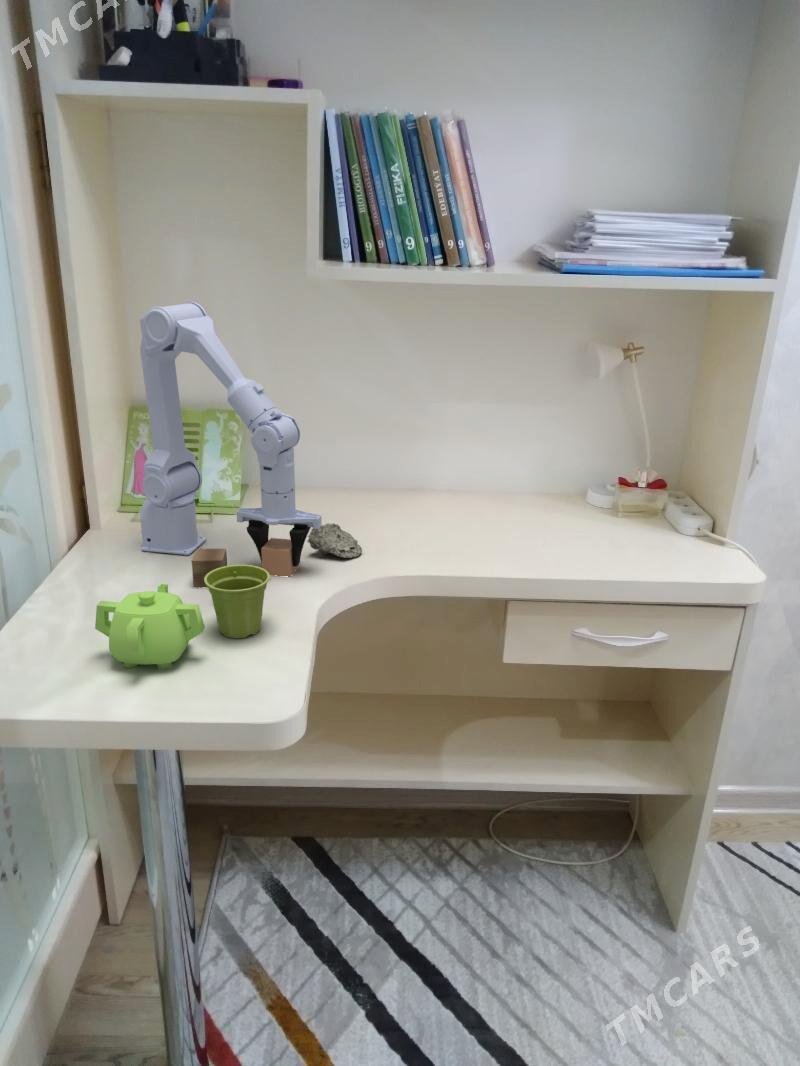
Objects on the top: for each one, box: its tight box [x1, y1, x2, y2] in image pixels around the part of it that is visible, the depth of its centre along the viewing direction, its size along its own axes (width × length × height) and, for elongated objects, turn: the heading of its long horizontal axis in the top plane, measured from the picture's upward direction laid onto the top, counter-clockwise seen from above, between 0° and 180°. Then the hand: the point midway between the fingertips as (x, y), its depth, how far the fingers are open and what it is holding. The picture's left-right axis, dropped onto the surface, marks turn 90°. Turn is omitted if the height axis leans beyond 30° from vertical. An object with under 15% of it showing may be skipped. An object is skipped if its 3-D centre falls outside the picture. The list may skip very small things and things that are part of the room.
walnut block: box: [191, 548, 228, 589], centre depth 138 cm, size 5×5×5 cm
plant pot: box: [204, 564, 271, 639], centre depth 122 cm, size 9×9×9 cm
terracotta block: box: [261, 537, 300, 578], centre depth 143 cm, size 5×5×5 cm
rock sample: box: [306, 523, 363, 559], centre depth 151 cm, size 10×8×9 cm
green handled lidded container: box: [94, 583, 206, 670], centre depth 114 cm, size 12×12×10 cm
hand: (280, 562), depth 144 cm, fingers open, 5 cm apart
